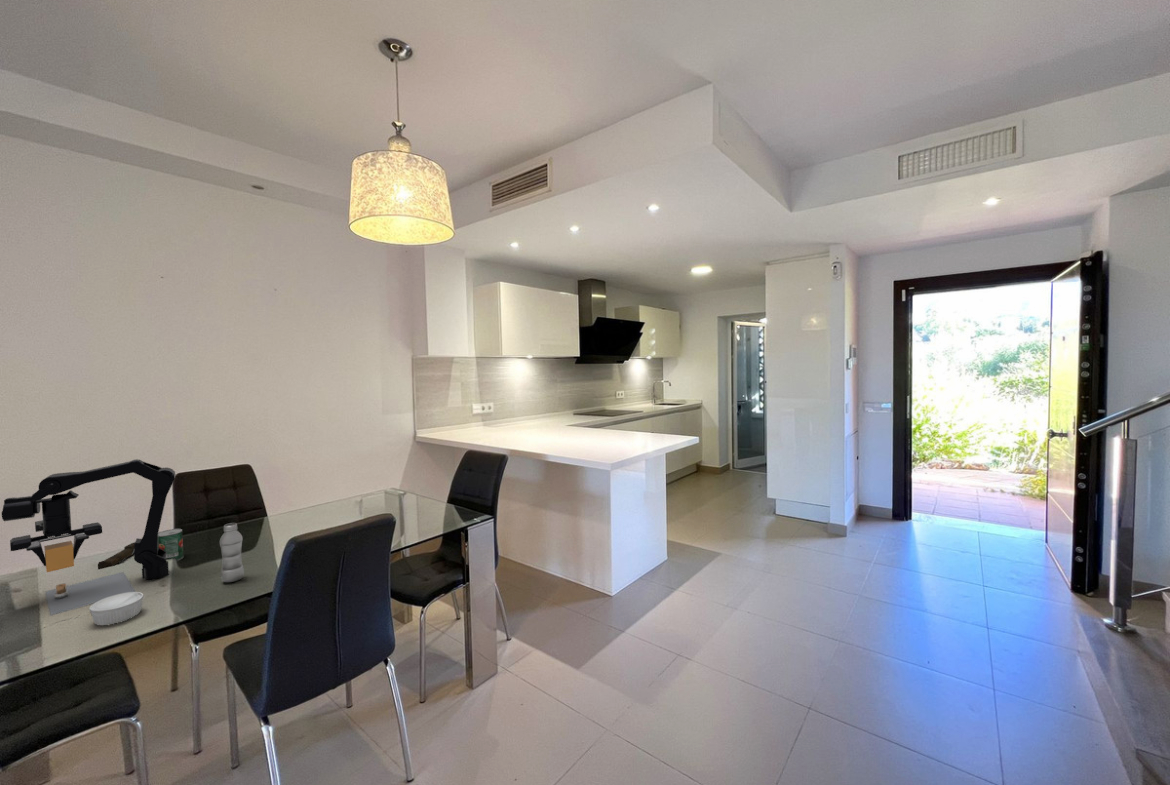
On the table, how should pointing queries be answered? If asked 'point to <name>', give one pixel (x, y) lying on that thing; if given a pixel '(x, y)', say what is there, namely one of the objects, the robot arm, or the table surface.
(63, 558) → the orange cardboard-tone cube
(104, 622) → the ramekin
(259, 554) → the table surface
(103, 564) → the hand tool
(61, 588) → the copper silver stepped knob
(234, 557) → the plastic bottle
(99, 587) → the flat grey board
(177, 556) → the canned tomato
